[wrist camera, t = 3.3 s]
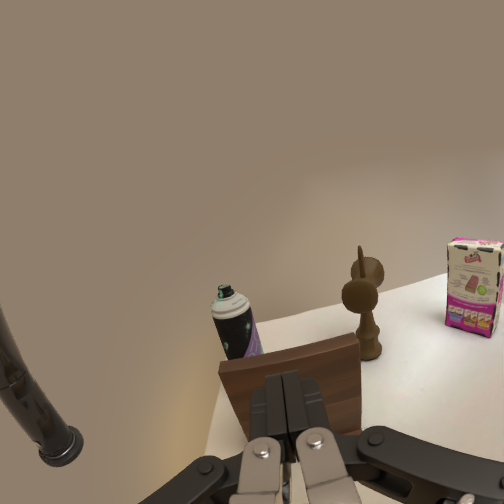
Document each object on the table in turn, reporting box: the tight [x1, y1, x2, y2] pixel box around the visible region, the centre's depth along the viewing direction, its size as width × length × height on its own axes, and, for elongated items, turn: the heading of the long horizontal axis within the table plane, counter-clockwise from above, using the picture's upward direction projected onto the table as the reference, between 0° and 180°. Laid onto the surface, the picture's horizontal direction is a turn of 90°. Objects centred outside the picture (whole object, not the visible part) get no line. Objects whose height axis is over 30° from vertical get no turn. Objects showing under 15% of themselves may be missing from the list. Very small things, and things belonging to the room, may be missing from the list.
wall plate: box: [218, 332, 362, 456], centre depth 30 cm, size 8×14×16 cm, turn 89°
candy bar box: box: [445, 238, 504, 337], centre depth 37 cm, size 11×5×16 cm, turn 28°
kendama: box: [342, 246, 384, 360], centre depth 42 cm, size 6×10×20 cm, turn 150°
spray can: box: [210, 285, 264, 360], centre depth 40 cm, size 6×6×20 cm
